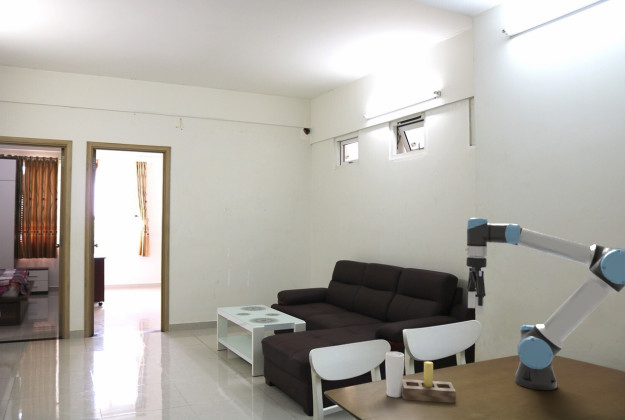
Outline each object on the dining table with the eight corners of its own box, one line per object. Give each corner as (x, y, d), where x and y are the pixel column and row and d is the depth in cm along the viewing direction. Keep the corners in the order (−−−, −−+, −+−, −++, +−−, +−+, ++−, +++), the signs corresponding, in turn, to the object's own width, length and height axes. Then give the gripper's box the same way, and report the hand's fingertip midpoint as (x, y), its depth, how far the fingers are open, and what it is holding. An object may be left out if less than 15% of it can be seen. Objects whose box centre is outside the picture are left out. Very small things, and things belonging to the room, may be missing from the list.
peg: (431, 394, 179) (432, 361, 179) (433, 397, 176) (433, 364, 176) (422, 394, 179) (423, 361, 179) (424, 397, 176) (424, 363, 176)
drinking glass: (404, 393, 179) (405, 352, 179) (401, 400, 173) (402, 357, 173) (386, 391, 181) (387, 350, 182) (382, 397, 175) (383, 355, 175)
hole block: (450, 392, 181) (450, 382, 181) (455, 402, 171) (455, 391, 171) (401, 389, 183) (401, 379, 183) (403, 399, 173) (403, 388, 173)
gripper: (460, 254, 206) (459, 305, 205) (473, 259, 181) (472, 316, 181) (478, 255, 205) (477, 305, 205) (494, 259, 180) (493, 317, 180)
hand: (475, 310), depth 193 cm, fingers open, 13 cm apart
